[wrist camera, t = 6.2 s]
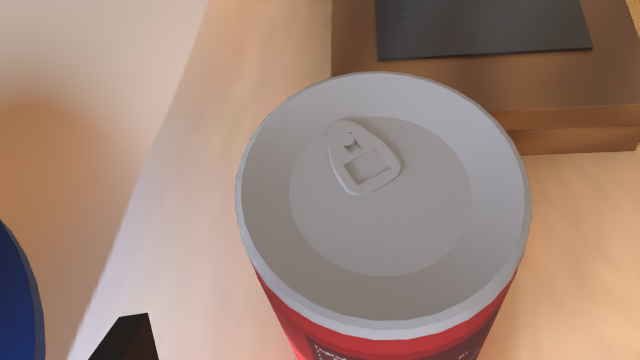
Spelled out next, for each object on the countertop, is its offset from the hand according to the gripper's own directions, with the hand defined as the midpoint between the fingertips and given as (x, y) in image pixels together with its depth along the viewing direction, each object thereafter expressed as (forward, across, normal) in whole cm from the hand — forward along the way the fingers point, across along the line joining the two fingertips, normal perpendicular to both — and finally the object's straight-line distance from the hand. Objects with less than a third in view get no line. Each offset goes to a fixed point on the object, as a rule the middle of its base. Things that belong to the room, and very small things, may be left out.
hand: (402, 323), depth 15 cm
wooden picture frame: (+19, +7, +7) cm, 22 cm away
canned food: (+9, 0, -4) cm, 10 cm away
